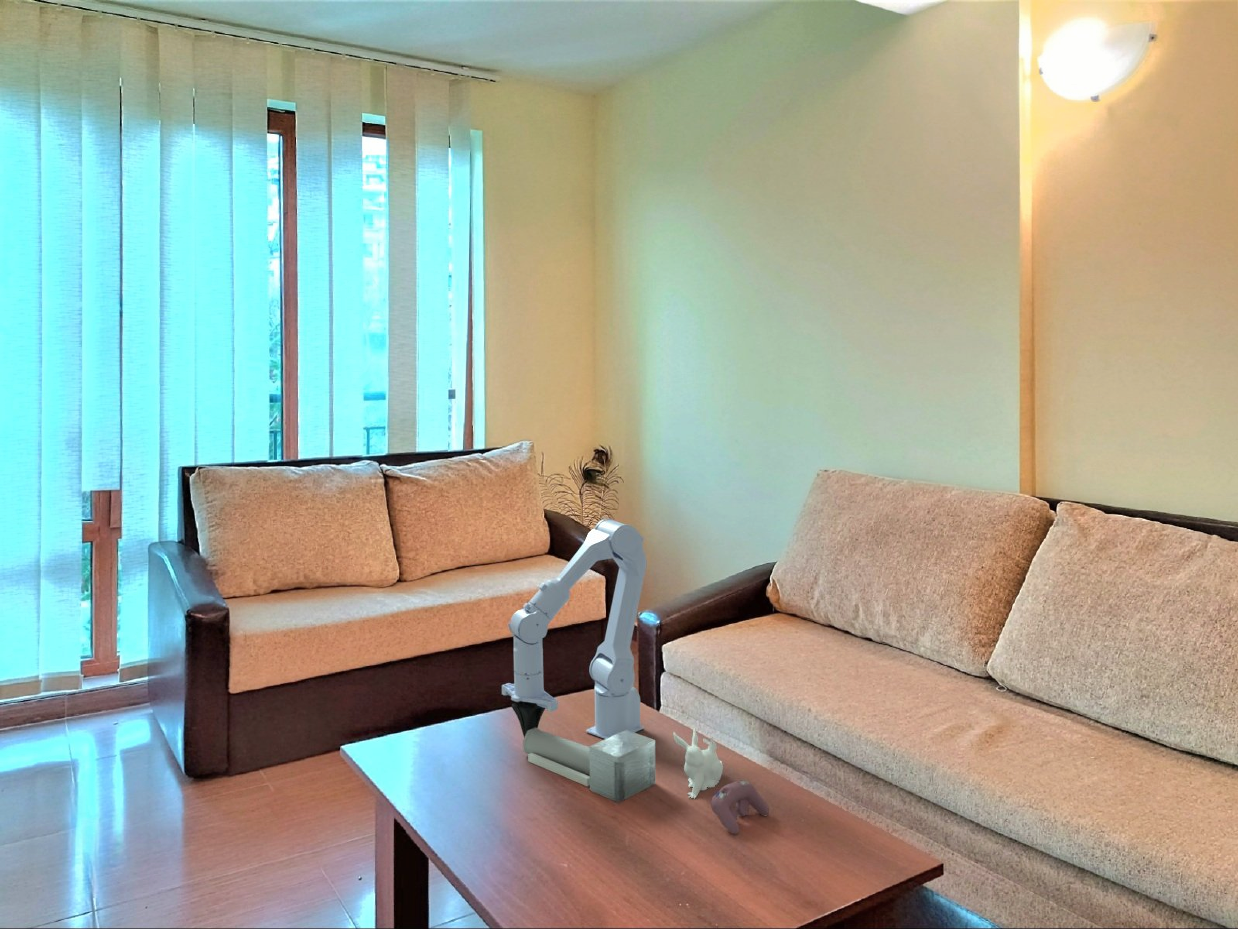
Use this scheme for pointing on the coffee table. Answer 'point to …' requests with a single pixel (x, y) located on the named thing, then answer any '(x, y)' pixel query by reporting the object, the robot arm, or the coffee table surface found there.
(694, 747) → the rabbit figurine
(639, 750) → the socket
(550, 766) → the rails
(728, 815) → the video game controller
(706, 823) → the coffee table surface
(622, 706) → the robot arm
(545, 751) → the tube
